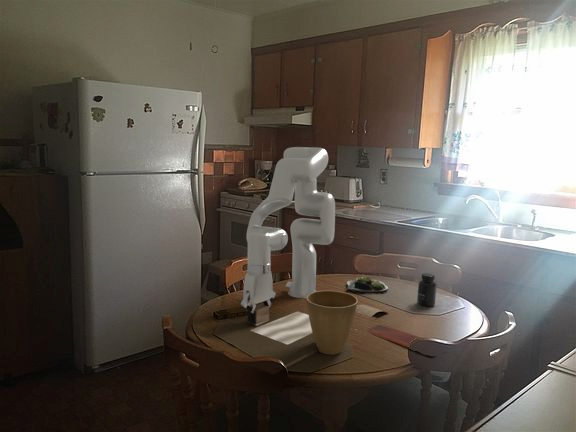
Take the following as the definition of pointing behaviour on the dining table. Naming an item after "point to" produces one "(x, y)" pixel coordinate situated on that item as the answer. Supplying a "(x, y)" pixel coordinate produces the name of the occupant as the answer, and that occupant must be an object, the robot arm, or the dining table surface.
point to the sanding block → (261, 314)
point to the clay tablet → (367, 310)
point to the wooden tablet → (392, 335)
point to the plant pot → (331, 319)
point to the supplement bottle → (427, 290)
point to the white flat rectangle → (286, 328)
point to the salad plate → (366, 285)
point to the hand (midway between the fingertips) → (258, 319)
